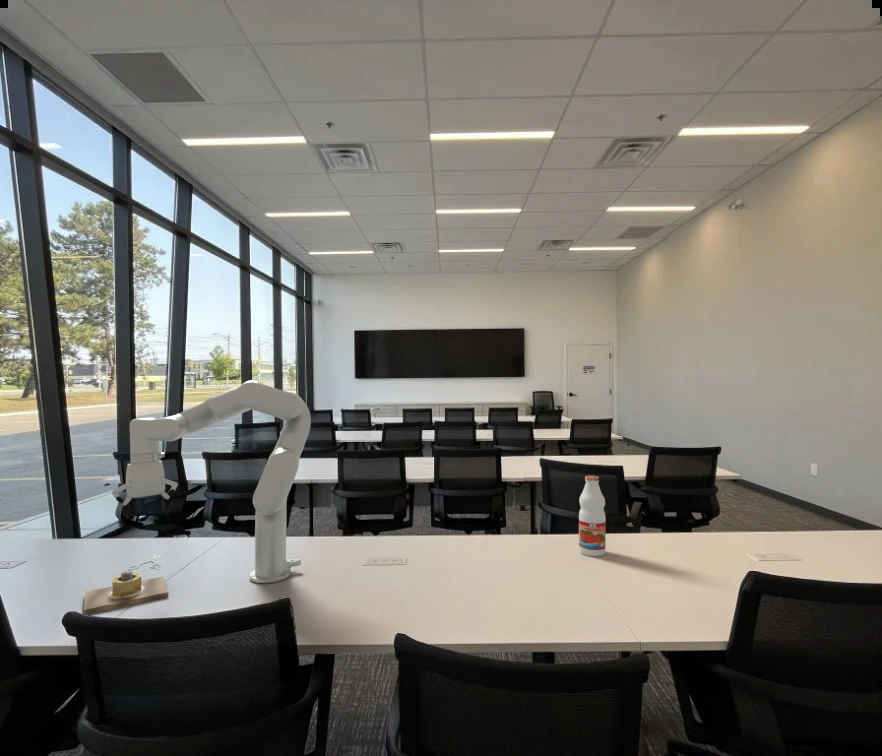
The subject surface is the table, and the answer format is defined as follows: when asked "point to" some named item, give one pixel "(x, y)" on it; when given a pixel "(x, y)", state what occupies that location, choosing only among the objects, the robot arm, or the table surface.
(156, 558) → the scissors
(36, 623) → the table surface
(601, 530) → the fruit juice
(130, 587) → the ring
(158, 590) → the post plate
